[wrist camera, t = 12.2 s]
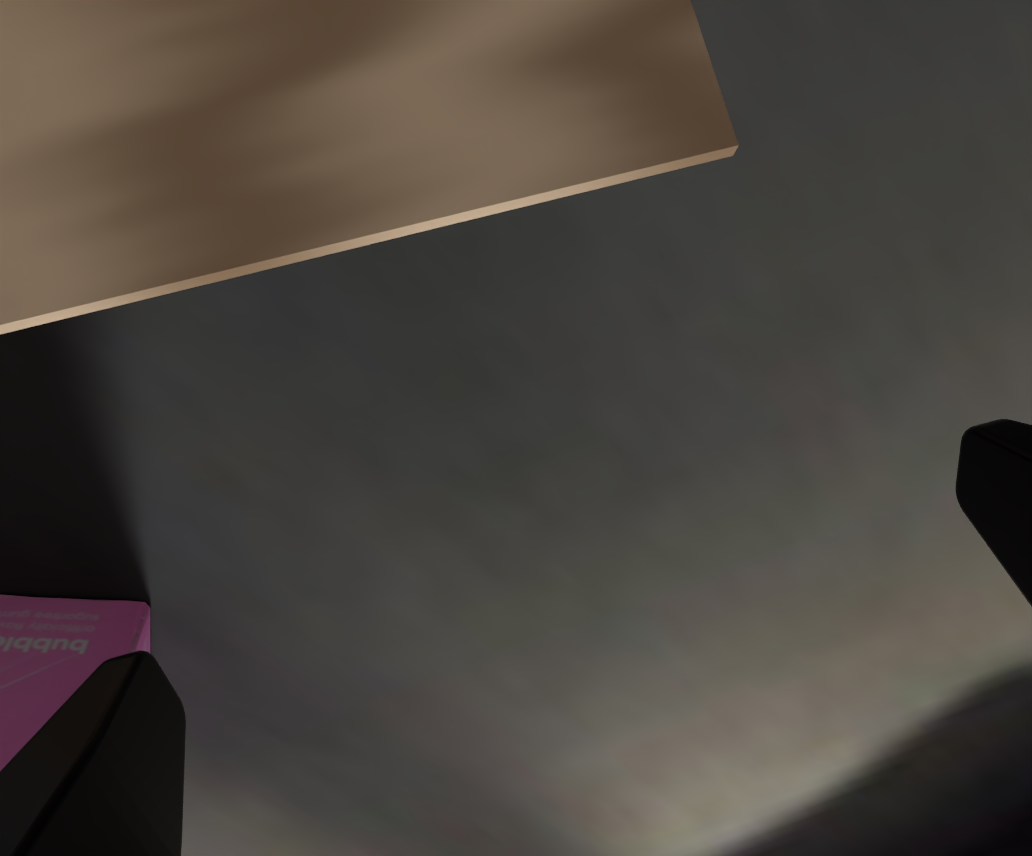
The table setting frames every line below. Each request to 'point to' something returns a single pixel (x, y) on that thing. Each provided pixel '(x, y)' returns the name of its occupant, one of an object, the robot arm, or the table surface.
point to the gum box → (57, 655)
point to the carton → (315, 129)
